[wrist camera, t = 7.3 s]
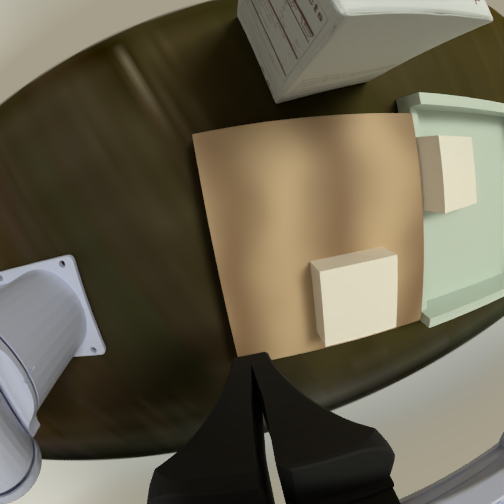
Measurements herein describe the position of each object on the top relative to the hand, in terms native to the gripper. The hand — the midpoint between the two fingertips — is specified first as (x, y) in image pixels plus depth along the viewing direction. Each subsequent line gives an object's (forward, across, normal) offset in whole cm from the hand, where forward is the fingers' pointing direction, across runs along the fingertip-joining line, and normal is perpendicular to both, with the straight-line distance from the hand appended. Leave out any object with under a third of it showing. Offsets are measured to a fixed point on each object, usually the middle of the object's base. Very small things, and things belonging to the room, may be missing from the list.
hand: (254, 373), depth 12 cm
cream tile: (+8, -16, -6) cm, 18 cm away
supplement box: (+10, -7, -16) cm, 20 cm away
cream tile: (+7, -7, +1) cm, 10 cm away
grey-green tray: (+9, -20, -3) cm, 22 cm away
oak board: (+9, -6, -3) cm, 11 cm away
